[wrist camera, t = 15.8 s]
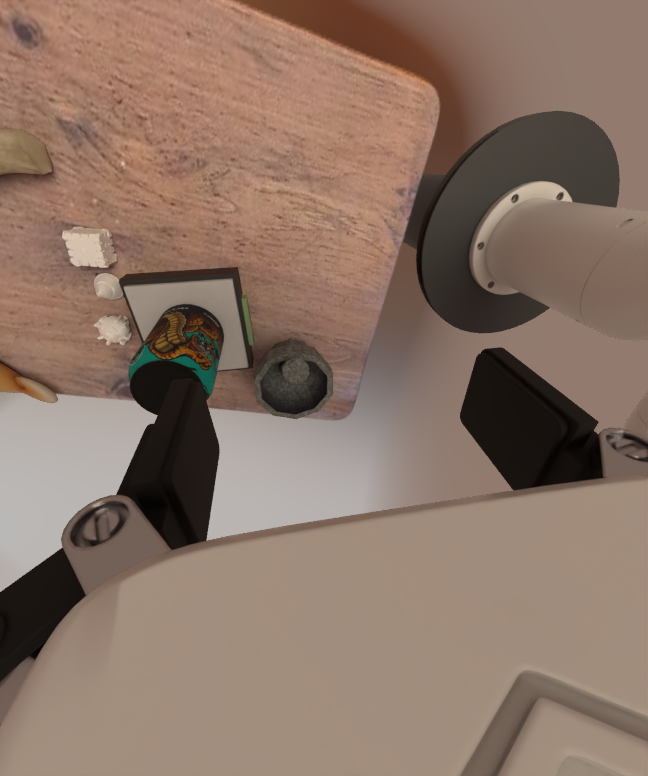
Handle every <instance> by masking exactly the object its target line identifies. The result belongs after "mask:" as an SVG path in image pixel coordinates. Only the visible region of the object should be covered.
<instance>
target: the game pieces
mask: <svg viewBox="0 0 648 776" xmlns="http://www.w3.org/2000/svg"><path fill="white" fill-rule="evenodd" d="M73 228H74V229H70V230H67V231H65V230H64V231H63V234H62V238H63V239H64V240H67V242H65V243H66V246H67V248H69V250H68V253H69V256H73V257H71V258H70V262H71V263H72V264H73V265H75V266H77V267H79V266H81V265H82V266H91V267H97V266H98V267H100V268H106V267H109V265H110V264H111V263H113V262H117V255H116V254H115V253H113V252H115V250H114V246H111V245H113V241H112V239H110V237H111V236H112V234H111V232H110V231H109V230H108V229H105V228H103V229H101V230H100V229H92V228H84V227H73ZM94 287H95V291H96V294H97V295H98V296H99V297H101V298H105V299H109V300H117V299H119V298H121V297H122V296H123V292H122V289H121V287H120V284H119V279H118V278H117V277H116V276H114V275H112V274H109V273H102V274H99V275H97V276H96V278H95V279H94ZM107 316H108V315H105V316H103V317H101V318H100V319H98V320H99V321H98V322H97V323H95V324H94V327H97V328H98V330H99V333H100V334H101V335H99V337H98V339H99V340H101V339H103V338H104V339H106V340H108V341H107V343H106V345H108V346H109V345H110V343H111V342H113V343H120V344H121V345H122V346H123V345H125V343H126V341H127V340H128V341H129V339H130V337H131V334H132V332H131V333H129V332H130V327H129V323H130V322H129V321H128V320H127V321H125V320H126V319H128V318H127V317H126V316H124V317H123V318H122V316H121V315H119V316H112V315H111V316H109V317H107ZM121 318H122V319H121Z"/></svg>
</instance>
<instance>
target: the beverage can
mask: <svg viewBox="0 0 648 776" xmlns="http://www.w3.org/2000/svg"><path fill="white" fill-rule="evenodd" d="M223 343H224V332H223V328H222V326H221V324H220V322H219V321H218V319H217V318H216V317H215V316H214V315H213V314H212V313H211V312H209V311H208V310H206V309H204V308H202V307H200V306H196V305H192V304H180V305H176V306H173V307H171V308H169V309H168V310H166V311H165V312H164V313H163V314H162V316H161V317H160V318H159V320H158V321H157V323H156V324H155V326H154V327H153V329H152V330H151V332H150V333H149V335H148V336H147V338H146V339H145V341H144V342H143V344H142V345H141V347H140V348H139V350H138V351H137V353H136V354H135V356H134V357H133V359H132V361H131V363H130V365H129V380H130V390H131V393H132V395H133V398H134V399H135V400H136V402H137V403H138V404H139V405H140V406H141V407H143V408H144V409H146V410H147V411H149V412H151V413H153V414H156V415H158V414H159V411H160V409H161V406H162V404H163V402H164V399H165V397H166V394H167V392H168V390H169V387H170V385H171V382H172V381H173V380H179V379H189V378H192V379H193V380H194V381H195V382H200V383H201V385H202V389H203V392H204V395H205V399H206V400H207V399H208V398H209V396H210V395H211V393H212V391H213V387H214V383H215V379H216V374H217V370H218V365H219V361H220V356H221V352H222V347H223Z"/></svg>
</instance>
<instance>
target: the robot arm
mask: <svg viewBox="0 0 648 776" xmlns="http://www.w3.org/2000/svg"><path fill="white" fill-rule="evenodd" d="M469 265H470V270H471V273H472V276H473V278H474V279H475V281H476V282H477V283H478V284H479V285H480V286H481V287H482V288H484V289H485V290H487V291H489V292H492V293H494V294H500V295H508V294H514V293H518V292H521V293H523V294H525V295H527V296H529V297H531V298H533V299H535V300H537V301H539V302H541V303H542V304H544V305H546V306H548V307H550V308H552V309H555V310H556V311H558V312H561V313H562V314H564V315H566V316H568V317H570V318H572V319H574V320H576V321H578V322H580V323H582V324H584V325H586V326H588V327H590V328H593V329H594V330H596V331H598V332H600V333H602V334H605V335H607V336H610V337H613V338H617V339H622V340H632V341H639V340H648V212H645V211H638V210H629V209H622V208H615V207H607V206H599V205H591V204H584V203H576V202H572V199H571V197H570V195H569V194H568V192H567V191H566V190H565V189H564V188H563V187H561V186H560V185H558V184H555V183H553V182H546V181H532V182H528V183H524V184H521V185H519V186H517V187H515V188H513V189H511V190H510V191H508V192H507V193H505V194H504V195H502V196H501V197H500V198H499V199H498V200H497V201H496V202H495V203H494V204H493V205H492V206H491V207H490V208H489V209H488V211H487V212H486V213H485V214H484V216H483V217H482V219H481V221H480V222H479V224H478V226H477V228H476V230H475V233H474V235H473V238H472V242H471V245H470V252H469ZM460 419H461V422H462V424H463V425H464V426H465V428H466V429H467V430H468V431H469V433H470V434H471V435H472V436H473V438H474V439H475V441H476V442H477V443H478V445H479V446H480V447H481V448H482V450H483V451H484V452H485V454H486V455H487V456H488V458H489V459H490V460H491V461H492V463H493V464H494V466H495V467H496V468H497V469H498V471H499V472H500V473H501V475H502V476H503V477H504V479H505V480H506V481H507V483H508V484H509V485H510V486H511V488H512V489H513V490H514V491H507V492H501V493H494V494H487V495H480V496H474V497H467V498H460V499H454V500H448V501H441V502H435V503H428V504H422V505H415V506H409V507H403V508H396V509H389V510H383V511H376V512H370V513H365V514H357V515H351V516H345V517H339V518H332V519H326V520H320V521H314V522H307V523H301V524H295V525H289V526H283V527H277V528H271V529H266V530H260V531H254V532H249V533H243V534H238V535H232V536H227V537H222V538H217V539H213V540H208V541H206V539H207V532H208V525H209V519H210V512H211V506H212V499H213V492H214V485H215V479H216V472H217V466H218V459H219V443H218V439H217V436H216V433H215V429H214V426H213V422H212V419H211V416H210V412H209V409H208V405H207V402H206V399H205V395H204V392H203V389H202V385H201V383H200V382H195V381H194V380H193V379H192V378H189V379H179V380H173V381H172V382H171V385H170V387H169V390H168V392H167V394H166V397H165V399H164V402H163V404H162V406H161V409H160V411H159V414H158V416H157V419H156V421H155V423H154V424H150V425H148V426H147V427H146V429H145V431H144V433H143V435H142V438H141V440H140V442H139V444H138V447H137V449H136V451H135V453H134V456H133V458H132V460H131V463H130V465H129V467H128V469H127V472H126V474H125V476H124V479H123V481H122V483H121V485H120V487H119V490H118V492H117V494H116V495H111V496H107V497H104V498H100V499H98V500H96V501H94V502H92V503H90V504H88V505H87V506H85V507H84V508H83V509H81V510H80V511H78V512H77V513H76V514H75V516H74V517H73V518H72V519H71V520H70V521H69V522H68V524H67V526H66V527H65V529H64V531H63V534H62V538H61V541H62V546H63V548H61V549H60V550H59V551H57V552H56V553H55V554H53V555H52V556H50V557H49V558H47V559H46V560H45V561H43V562H42V563H41V564H39V565H38V566H36V567H35V568H33V569H32V570H31V571H29V572H28V573H26V574H25V575H24V576H22V577H21V578H19V579H18V580H17V581H15V582H14V583H12V584H11V585H10V586H9V587H7V588H5V589H4V590H3V591H1V592H0V776H648V391H647V393H646V394H645V395H644V397H643V398H642V399H641V401H640V402H639V404H638V405H637V407H636V408H635V409H634V411H633V412H632V413H631V415H630V417H629V418H628V420H627V421H626V423H625V425H624V427H623V429H621V428H608V429H604V430H602V431H601V432H600V433H599V435H598V434H597V433H596V432H594V431H593V430H594V429H595V427H596V426H597V424H598V421H597V420H595V419H594V418H593V417H592V416H590V415H589V414H588V413H586V412H585V411H584V410H582V409H581V408H580V407H579V406H577V405H576V404H575V403H574V402H572V401H571V400H570V399H568V398H567V397H566V396H565V395H563V394H562V393H561V392H559V391H558V390H557V389H556V388H554V387H553V386H552V385H550V384H549V383H548V382H546V381H545V380H544V379H542V378H541V377H540V376H539V375H537V374H536V373H535V372H534V371H532V370H531V369H530V368H528V367H527V366H526V365H525V364H523V363H522V362H521V361H519V360H518V359H517V358H515V357H514V356H513V355H512V354H510V353H509V352H508V351H506V350H505V349H504V348H491V349H484V350H483V351H482V352H481V354H478V356H477V357H476V361H475V364H474V367H473V371H472V374H471V378H470V382H469V385H468V388H467V392H466V395H465V399H464V402H463V406H462V409H461V412H460Z"/></svg>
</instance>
